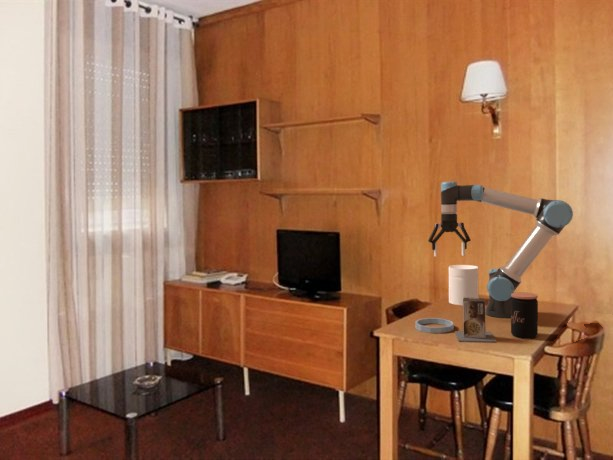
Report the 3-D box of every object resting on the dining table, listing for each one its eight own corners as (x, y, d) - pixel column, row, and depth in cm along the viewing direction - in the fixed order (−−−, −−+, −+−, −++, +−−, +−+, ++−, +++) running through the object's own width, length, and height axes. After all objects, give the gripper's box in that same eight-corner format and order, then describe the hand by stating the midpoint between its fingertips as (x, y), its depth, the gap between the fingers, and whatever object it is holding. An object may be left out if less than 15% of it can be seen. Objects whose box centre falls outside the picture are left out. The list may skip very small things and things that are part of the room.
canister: (443, 300, 294) (443, 265, 292) (468, 298, 297) (468, 264, 296) (458, 306, 278) (457, 269, 276) (484, 304, 282) (484, 268, 280)
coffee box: (485, 334, 222) (485, 297, 221) (485, 338, 216) (485, 301, 215) (463, 333, 225) (463, 297, 224) (463, 337, 219) (462, 300, 218)
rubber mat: (490, 333, 226) (490, 331, 226) (496, 342, 212) (496, 341, 212) (454, 332, 229) (454, 331, 229) (458, 341, 215) (458, 340, 215)
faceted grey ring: (451, 323, 244) (451, 318, 244) (455, 333, 227) (455, 327, 227) (414, 322, 247) (414, 317, 247) (416, 332, 230) (416, 327, 230)
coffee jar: (506, 333, 226) (506, 292, 224) (529, 331, 227) (529, 291, 225) (518, 340, 215) (518, 297, 214) (542, 338, 216) (543, 296, 215)
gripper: (472, 212, 255) (472, 254, 256) (421, 213, 255) (422, 255, 256) (477, 212, 247) (477, 256, 249) (425, 214, 247) (425, 257, 249)
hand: (449, 256), depth 253 cm, fingers open, 13 cm apart
